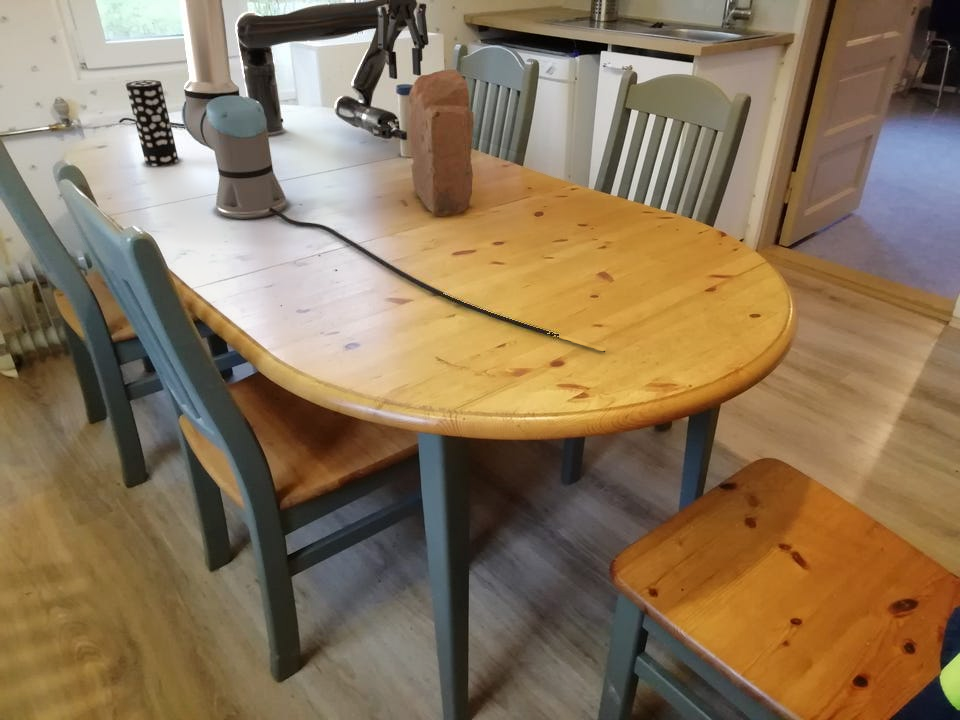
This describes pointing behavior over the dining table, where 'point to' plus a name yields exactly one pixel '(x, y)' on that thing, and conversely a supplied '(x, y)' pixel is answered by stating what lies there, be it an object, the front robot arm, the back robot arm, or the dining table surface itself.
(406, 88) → the lid
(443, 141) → the stone
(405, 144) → the white cylinder
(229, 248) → the dining table surface
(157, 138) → the black spotted cylinder
